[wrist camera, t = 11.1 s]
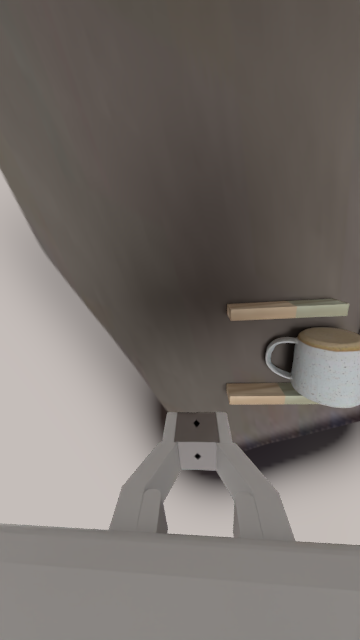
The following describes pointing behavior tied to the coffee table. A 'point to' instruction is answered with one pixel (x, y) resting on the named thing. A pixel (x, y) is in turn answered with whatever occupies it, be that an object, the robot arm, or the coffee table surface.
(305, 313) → the channel walls
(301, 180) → the coffee table surface
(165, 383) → the coffee table surface
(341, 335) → the ceramic mug
